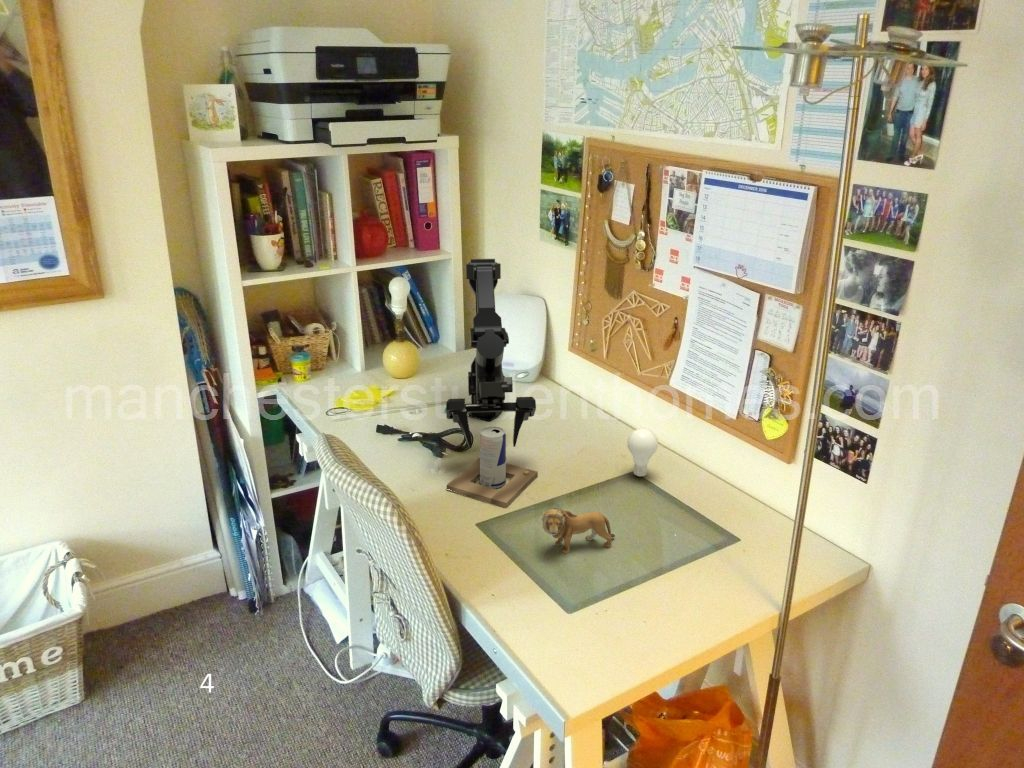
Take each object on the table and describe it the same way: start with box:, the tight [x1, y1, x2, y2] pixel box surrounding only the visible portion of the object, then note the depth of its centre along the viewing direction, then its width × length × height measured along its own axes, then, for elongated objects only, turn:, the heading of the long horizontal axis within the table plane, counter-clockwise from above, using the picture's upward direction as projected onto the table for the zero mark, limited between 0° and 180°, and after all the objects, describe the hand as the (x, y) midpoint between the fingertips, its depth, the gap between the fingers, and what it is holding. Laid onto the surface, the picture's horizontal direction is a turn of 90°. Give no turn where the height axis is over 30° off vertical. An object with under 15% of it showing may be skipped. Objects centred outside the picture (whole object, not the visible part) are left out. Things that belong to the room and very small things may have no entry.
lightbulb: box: [627, 427, 659, 478], centre depth 160 cm, size 6×6×11 cm
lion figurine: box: [541, 507, 616, 555], centre depth 137 cm, size 15×5×9 cm, turn 111°
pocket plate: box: [446, 456, 539, 509], centre depth 158 cm, size 14×14×2 cm
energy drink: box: [479, 426, 507, 490], centre depth 156 cm, size 5×5×12 cm
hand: (492, 446), depth 157 cm, fingers open, 9 cm apart
